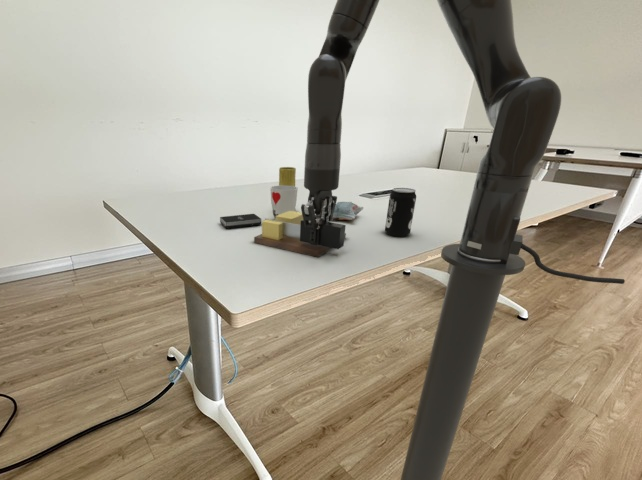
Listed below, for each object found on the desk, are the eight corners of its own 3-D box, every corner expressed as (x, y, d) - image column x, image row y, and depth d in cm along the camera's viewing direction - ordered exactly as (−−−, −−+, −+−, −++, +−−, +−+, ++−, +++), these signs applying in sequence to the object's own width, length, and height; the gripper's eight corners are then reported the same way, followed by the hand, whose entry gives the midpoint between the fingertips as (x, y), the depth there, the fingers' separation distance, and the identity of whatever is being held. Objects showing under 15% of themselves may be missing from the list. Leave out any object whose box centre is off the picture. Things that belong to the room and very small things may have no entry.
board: (345, 238, 90) (346, 233, 89) (317, 257, 78) (318, 250, 77) (287, 227, 99) (287, 222, 98) (254, 242, 87) (254, 237, 86)
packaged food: (362, 215, 112) (363, 200, 110) (353, 224, 102) (355, 208, 100) (336, 213, 115) (337, 198, 113) (325, 221, 105) (326, 205, 103)
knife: (343, 245, 79) (345, 224, 77) (338, 249, 77) (340, 227, 75) (268, 230, 89) (268, 211, 87) (262, 233, 87) (261, 213, 85)
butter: (304, 227, 94) (305, 213, 92) (291, 233, 89) (291, 218, 87) (289, 224, 97) (289, 210, 95) (275, 230, 91) (275, 216, 90)
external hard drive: (219, 223, 103) (219, 216, 102) (254, 219, 107) (254, 213, 106) (226, 229, 97) (225, 222, 96) (262, 225, 101) (262, 219, 100)
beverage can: (405, 239, 90) (412, 192, 85) (380, 234, 94) (387, 189, 89) (412, 233, 95) (420, 189, 90) (389, 229, 98) (395, 186, 93)
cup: (266, 218, 108) (266, 186, 104) (290, 216, 111) (291, 184, 107) (275, 225, 101) (275, 190, 97) (300, 222, 104) (302, 189, 100)
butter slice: (283, 238, 86) (283, 222, 84) (278, 240, 84) (278, 224, 82) (266, 234, 88) (266, 219, 86) (262, 236, 86) (261, 221, 85)
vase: (276, 209, 119) (277, 166, 113) (294, 209, 119) (295, 166, 113) (278, 214, 113) (279, 169, 107) (296, 213, 114) (298, 169, 108)
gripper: (323, 170, 66) (318, 254, 73) (351, 163, 77) (344, 237, 84) (290, 168, 70) (288, 247, 77) (321, 161, 81) (317, 232, 88)
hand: (317, 242), depth 81 cm, fingers closed on knife, 3 cm apart
